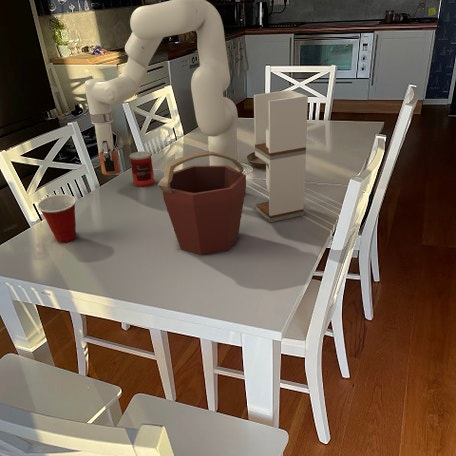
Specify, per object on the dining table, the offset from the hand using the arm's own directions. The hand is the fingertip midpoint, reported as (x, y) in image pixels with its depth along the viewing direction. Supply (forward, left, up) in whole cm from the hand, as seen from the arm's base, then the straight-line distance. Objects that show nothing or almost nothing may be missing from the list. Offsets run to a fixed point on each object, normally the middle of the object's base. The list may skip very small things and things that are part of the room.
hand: (110, 167), depth 175 cm
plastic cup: (-41, +13, -7) cm, 44 cm away
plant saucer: (+8, -61, -7) cm, 62 cm away
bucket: (-53, -28, -7) cm, 61 cm away
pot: (0, 0, -2) cm, 2 cm away
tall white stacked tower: (-40, -53, -7) cm, 67 cm away
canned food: (0, -11, -7) cm, 13 cm away
